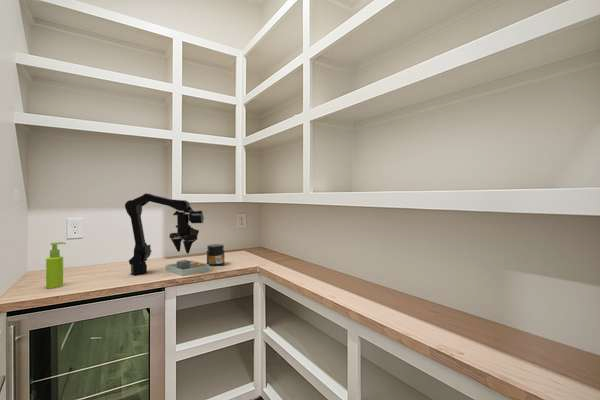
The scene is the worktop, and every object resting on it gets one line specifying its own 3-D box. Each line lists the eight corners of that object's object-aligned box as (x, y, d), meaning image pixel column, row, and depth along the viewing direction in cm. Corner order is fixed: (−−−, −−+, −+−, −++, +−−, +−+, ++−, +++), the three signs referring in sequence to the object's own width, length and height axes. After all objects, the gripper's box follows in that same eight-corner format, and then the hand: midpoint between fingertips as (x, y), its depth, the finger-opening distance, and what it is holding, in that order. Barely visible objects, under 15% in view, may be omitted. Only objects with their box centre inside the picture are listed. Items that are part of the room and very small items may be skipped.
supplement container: (220, 267, 164) (220, 246, 164) (203, 267, 165) (203, 246, 165) (227, 263, 175) (227, 244, 175) (211, 263, 176) (211, 243, 176)
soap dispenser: (66, 285, 129) (66, 242, 129) (46, 289, 124) (46, 244, 125) (65, 283, 133) (65, 241, 134) (45, 286, 129) (45, 242, 129)
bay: (182, 277, 143) (182, 270, 143) (165, 271, 155) (164, 265, 155) (209, 271, 155) (209, 264, 155) (191, 266, 167) (191, 260, 167)
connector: (181, 273, 148) (180, 262, 148) (176, 272, 151) (176, 261, 151) (194, 270, 154) (194, 259, 154) (190, 269, 157) (190, 258, 157)
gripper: (206, 223, 152) (206, 252, 152) (187, 221, 163) (187, 248, 163) (186, 224, 143) (186, 255, 143) (168, 223, 155) (168, 251, 155)
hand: (183, 252), depth 151 cm, fingers open, 9 cm apart
